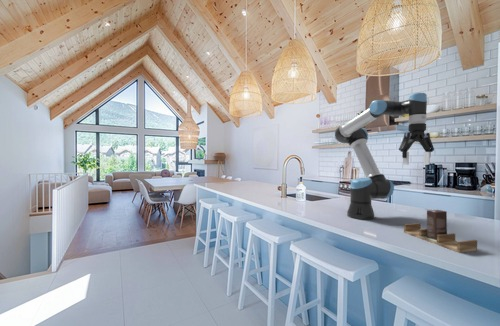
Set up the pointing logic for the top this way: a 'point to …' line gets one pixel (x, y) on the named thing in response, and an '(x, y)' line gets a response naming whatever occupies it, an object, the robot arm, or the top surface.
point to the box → (436, 223)
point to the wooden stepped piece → (441, 239)
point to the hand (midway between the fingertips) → (416, 164)
